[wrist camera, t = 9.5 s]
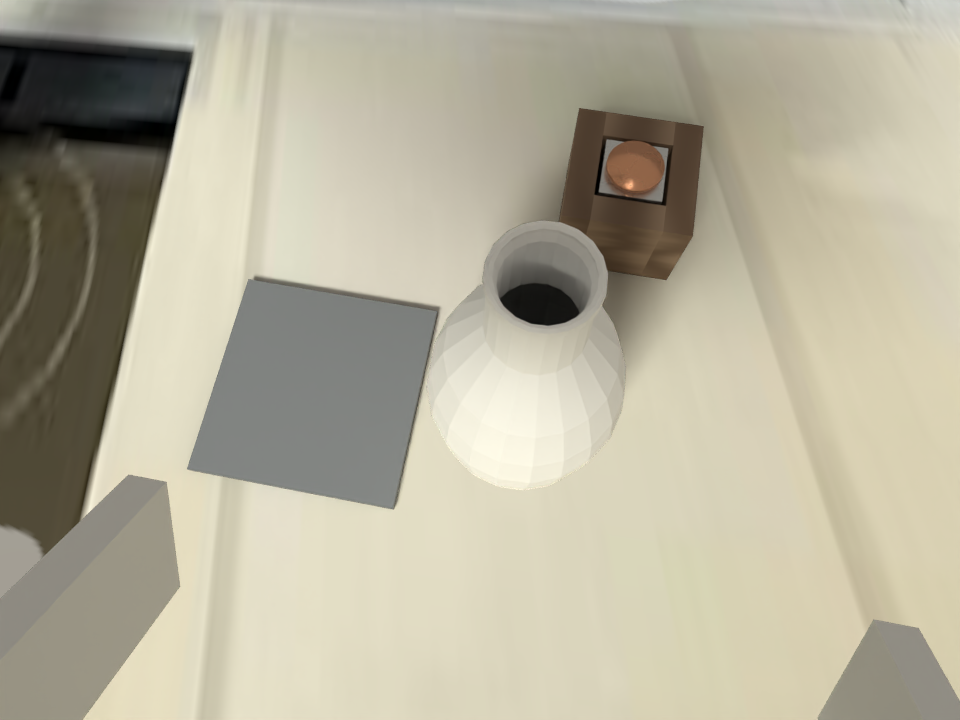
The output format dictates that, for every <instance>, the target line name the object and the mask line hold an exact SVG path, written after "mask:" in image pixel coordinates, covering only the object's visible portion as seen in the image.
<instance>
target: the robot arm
mask: <svg viewBox="0 0 960 720" xmlns="http://www.w3.org/2000/svg"><path fill="white" fill-rule="evenodd" d="M179 587H180V582H179V574H178V566H177V558H176V551H175V543H174V535H173V528H172V520H171V512H170V504H169V497H168V489H167V482H164V481H159V480H154V479H148V478H143V477H138V476H133V475H128V476H127V477H126V478H125V479H124V480H123V481H121V482H120V483H119V484H118V485H117V486H116V487H115V488H114V489H113V490H112V491H111V492H110V493H109V494H108V495H107V496H106V497H105V498H104V499H103V500H102V501H101V502H100V503H99V504H98V505H97V506H96V507H95V508H94V509H93V510H91V511H90V512H89V513H88V514H87V515H86V516H85V517H84V518H83V519H82V520H81V521H80V522H79V523H78V524H77V525H76V526H75V527H74V528H73V529H72V530H71V531H70V532H69V533H68V534H67V535H66V536H65V537H64V538H63V539H61V540H60V541H59V542H58V543H57V544H56V545H55V546H54V547H53V548H52V549H51V550H50V551H49V552H48V553H47V554H46V555H45V556H44V557H43V558H42V559H41V560H40V561H39V562H38V563H37V564H36V565H35V566H34V567H32V568H31V569H30V570H29V571H28V572H27V573H26V574H25V575H24V576H23V577H22V578H21V579H20V580H19V581H18V582H17V583H16V584H15V585H14V586H13V587H12V588H11V589H10V590H9V591H8V592H7V593H6V594H5V595H4V596H2V597H1V598H0V720H83V718H84V717H85V716H86V714H87V713H88V712H89V710H90V709H91V707H92V706H93V705H94V703H95V702H96V701H97V699H98V698H99V696H100V695H101V694H102V692H103V691H104V690H105V688H106V687H107V686H108V684H109V683H110V681H111V680H112V679H113V677H114V676H115V675H116V673H117V672H118V671H119V669H120V668H121V666H122V665H123V664H124V662H125V661H126V660H127V658H128V657H129V655H130V654H131V653H132V651H133V650H134V649H135V647H136V646H137V645H138V643H139V642H140V640H141V639H142V638H143V636H144V635H145V634H146V632H147V631H148V630H149V628H150V627H151V625H152V624H153V623H154V621H155V620H156V619H157V617H158V616H159V614H160V613H161V612H162V610H163V609H164V608H165V606H166V605H167V604H168V602H169V601H170V599H171V598H172V597H173V595H174V594H175V593H176V591H177V590H178V589H179ZM818 720H960V701H959V699H958V697H957V695H956V694H955V692H954V690H953V688H952V686H951V685H950V683H949V681H948V679H947V678H946V676H945V674H944V672H943V670H942V669H941V667H940V665H939V663H938V662H937V660H936V658H935V656H934V655H933V653H932V651H931V649H930V647H929V646H928V644H927V642H926V640H925V639H924V637H923V635H922V633H921V631H920V630H919V628H915V627H910V626H905V625H900V624H894V623H889V622H884V621H879V620H873V622H872V623H871V625H870V627H869V629H868V630H867V632H866V634H865V636H864V637H863V639H862V641H861V643H860V644H859V646H858V648H857V650H856V651H855V653H854V655H853V657H852V658H851V660H850V662H849V664H848V665H847V667H846V669H845V671H844V672H843V674H842V676H841V678H840V679H839V681H838V683H837V685H836V686H835V688H834V690H833V691H832V693H831V695H830V697H829V698H828V700H827V702H826V704H825V705H824V707H823V709H822V711H821V712H820V714H819V716H818Z"/></svg>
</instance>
